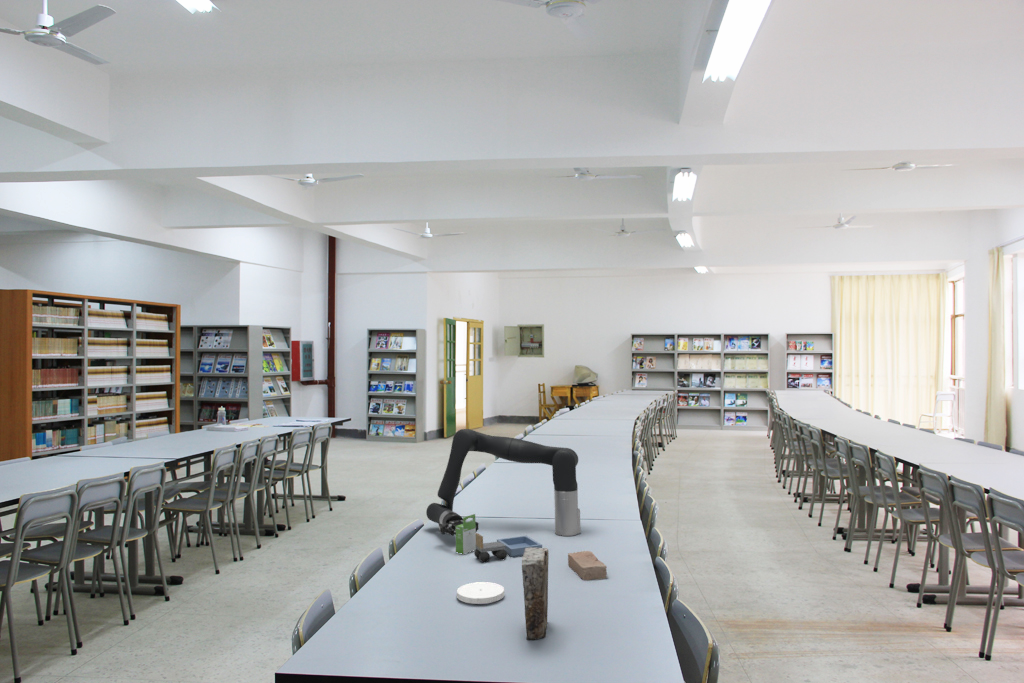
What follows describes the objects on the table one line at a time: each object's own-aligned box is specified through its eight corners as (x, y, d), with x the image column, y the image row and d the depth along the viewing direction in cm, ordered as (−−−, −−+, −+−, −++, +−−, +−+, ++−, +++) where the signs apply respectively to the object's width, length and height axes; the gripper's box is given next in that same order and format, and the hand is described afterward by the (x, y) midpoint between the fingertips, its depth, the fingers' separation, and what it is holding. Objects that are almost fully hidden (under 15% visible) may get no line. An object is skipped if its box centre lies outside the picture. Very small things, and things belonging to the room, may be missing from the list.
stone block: (523, 620, 186) (522, 545, 186) (549, 620, 185) (548, 545, 186) (523, 641, 172) (521, 560, 173) (551, 640, 172) (549, 560, 172)
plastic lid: (487, 610, 194) (487, 601, 194) (447, 601, 201) (447, 593, 201) (513, 595, 206) (513, 586, 206) (475, 587, 213) (474, 579, 213)
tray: (526, 543, 260) (526, 535, 260) (542, 553, 247) (542, 544, 247) (496, 547, 255) (496, 539, 255) (511, 557, 242) (511, 549, 242)
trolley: (500, 554, 246) (500, 529, 246) (507, 559, 240) (506, 533, 241) (474, 558, 242) (473, 533, 242) (480, 563, 237) (479, 537, 237)
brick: (608, 579, 218) (607, 564, 218) (582, 581, 216) (582, 566, 217) (590, 564, 234) (590, 550, 235) (567, 566, 233) (566, 552, 233)
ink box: (468, 548, 254) (467, 512, 255) (476, 550, 252) (475, 513, 252) (455, 553, 249) (454, 516, 249) (463, 555, 246) (462, 517, 247)
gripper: (433, 514, 264) (445, 523, 249) (468, 510, 270) (482, 519, 255) (433, 533, 264) (446, 544, 249) (469, 529, 270) (483, 539, 255)
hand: (464, 531), depth 252 cm, fingers open, 8 cm apart
